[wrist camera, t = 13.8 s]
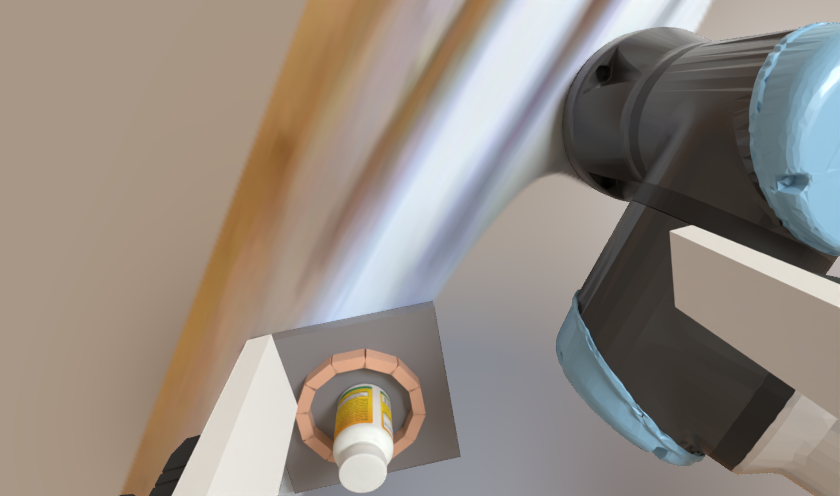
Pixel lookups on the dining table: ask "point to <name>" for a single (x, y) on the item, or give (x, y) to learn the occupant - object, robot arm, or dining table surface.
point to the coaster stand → (368, 364)
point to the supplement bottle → (363, 437)
